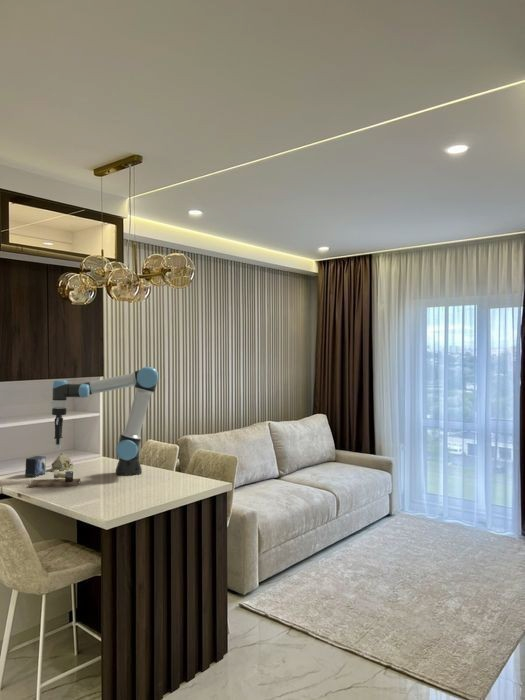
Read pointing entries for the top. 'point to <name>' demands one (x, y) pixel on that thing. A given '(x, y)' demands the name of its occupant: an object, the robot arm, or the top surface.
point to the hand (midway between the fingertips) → (57, 450)
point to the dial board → (54, 483)
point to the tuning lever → (64, 475)
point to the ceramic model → (62, 463)
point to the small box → (35, 466)
